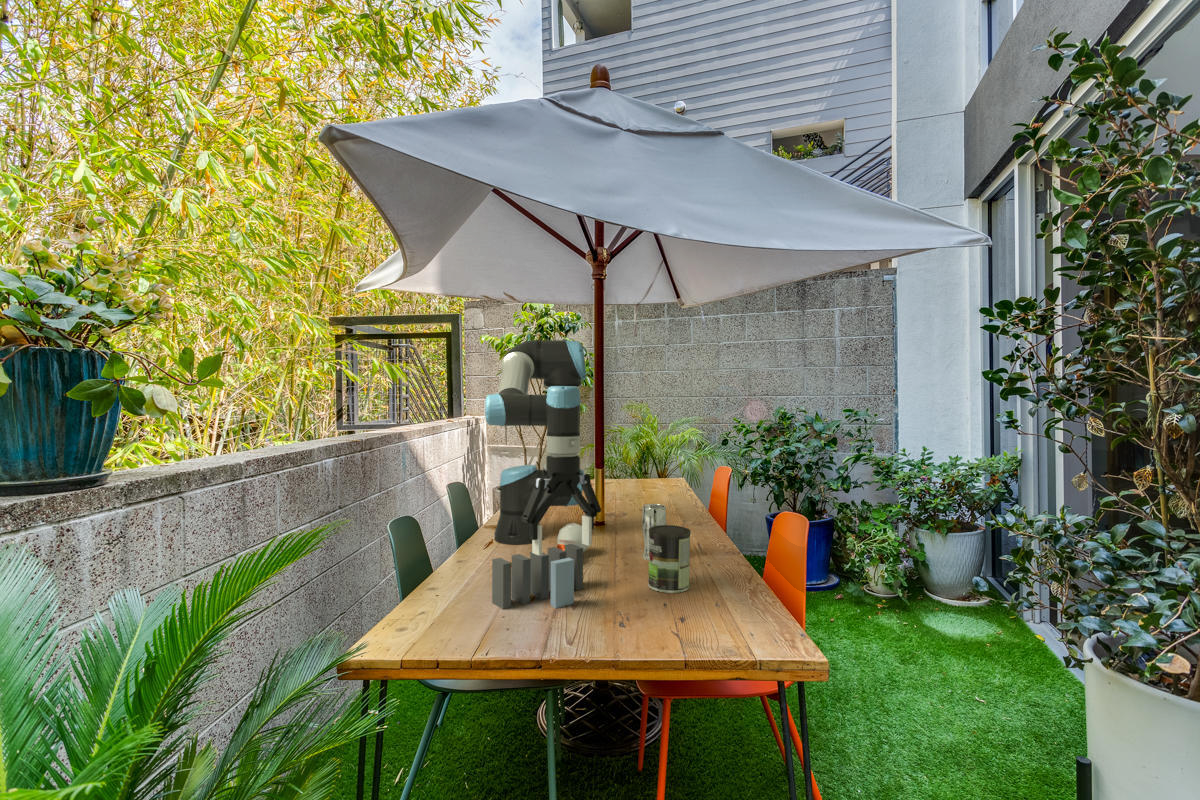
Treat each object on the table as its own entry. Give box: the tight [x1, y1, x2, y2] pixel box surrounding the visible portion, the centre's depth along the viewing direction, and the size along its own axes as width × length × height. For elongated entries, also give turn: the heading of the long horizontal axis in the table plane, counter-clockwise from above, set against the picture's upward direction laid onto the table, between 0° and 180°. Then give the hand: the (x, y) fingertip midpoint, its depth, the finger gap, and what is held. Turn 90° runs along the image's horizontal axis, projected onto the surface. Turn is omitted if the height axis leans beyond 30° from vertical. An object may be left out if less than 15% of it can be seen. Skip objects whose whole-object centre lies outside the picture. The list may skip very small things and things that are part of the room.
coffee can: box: [647, 524, 692, 594], centre depth 146 cm, size 10×10×14 cm
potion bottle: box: [556, 522, 589, 553], centre depth 170 cm, size 9×10×15 cm
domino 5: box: [550, 558, 575, 609], centre depth 134 cm, size 2×5×10 cm, turn 129°
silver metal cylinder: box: [641, 503, 667, 561], centre depth 171 cm, size 7×7×15 cm
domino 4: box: [547, 546, 566, 592], centre depth 142 cm, size 2×5×10 cm, turn 39°
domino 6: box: [565, 544, 584, 591], centre depth 145 cm, size 2×5×10 cm, turn 39°
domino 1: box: [491, 557, 512, 610], centre depth 133 cm, size 2×5×10 cm, turn 39°
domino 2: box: [511, 553, 531, 605], centre depth 136 cm, size 2×5×10 cm, turn 39°
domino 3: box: [529, 550, 550, 600], centre depth 139 cm, size 2×5×10 cm, turn 39°
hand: (562, 549), depth 133 cm, fingers open, 13 cm apart
